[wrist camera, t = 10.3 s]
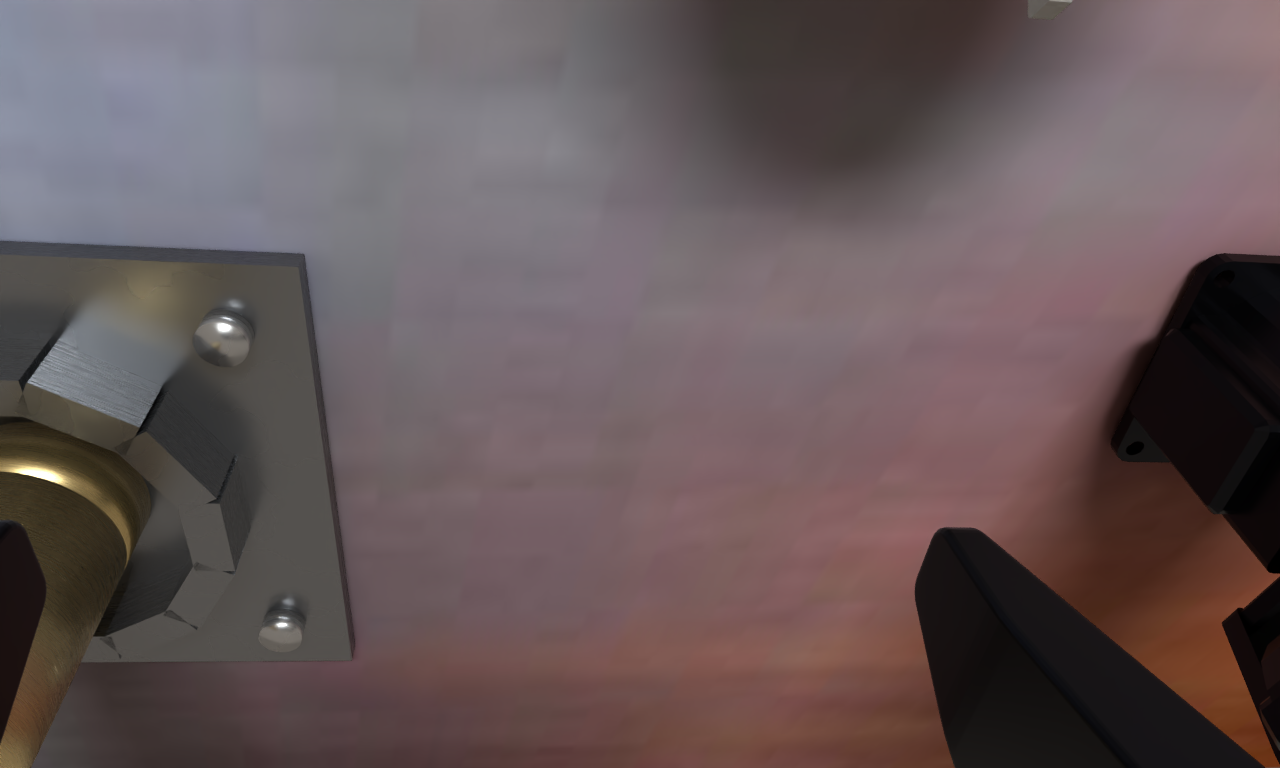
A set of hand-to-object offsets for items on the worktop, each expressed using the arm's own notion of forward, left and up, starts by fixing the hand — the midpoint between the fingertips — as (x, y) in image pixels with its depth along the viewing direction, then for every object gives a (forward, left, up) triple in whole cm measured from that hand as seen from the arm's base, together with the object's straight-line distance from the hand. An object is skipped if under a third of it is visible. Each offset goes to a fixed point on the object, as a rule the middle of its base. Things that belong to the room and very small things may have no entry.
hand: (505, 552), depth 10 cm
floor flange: (+12, +11, -13) cm, 21 cm away
